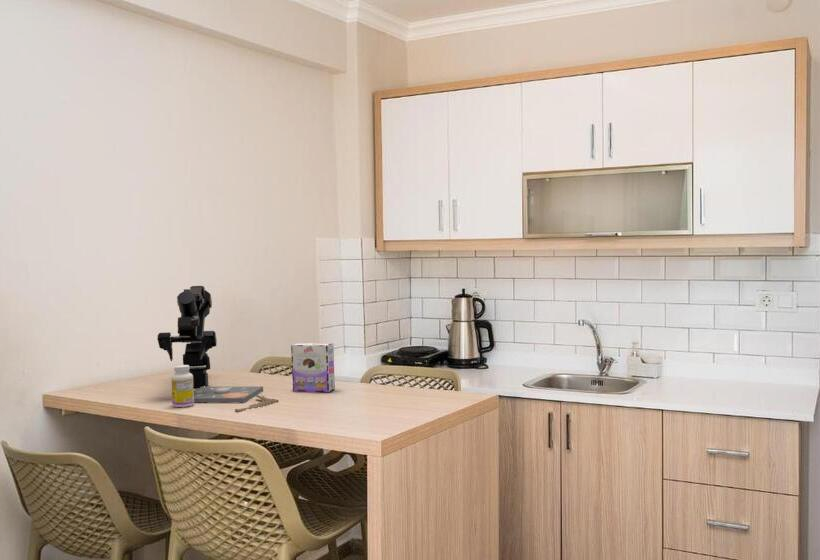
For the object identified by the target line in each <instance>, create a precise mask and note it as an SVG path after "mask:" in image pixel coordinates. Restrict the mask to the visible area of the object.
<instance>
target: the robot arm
mask: <svg viewBox="0 0 820 560" xmlns="http://www.w3.org/2000/svg"><path fill="white" fill-rule="evenodd" d="M176 299H177V300H176V302H177V306H178V311H179V312H180V317H177V335H172V334H171V332H159V333H158V334H157V342H158V347H159V348H160V349H161V350H163V351H166V352H167V354H168V356H169V360H170V362H173V352H174V351H173V343H181V344H182V343H185V351H184V354H182V363H183V364H182V365H189V367H190V369H189V373H191V374H192V375H193V387H204V386H205V387H207V386H209V385H208V384H209V373H208V372H207V371H208V370H211V361H210V355H208V351H209V350H210V349H213V348H215V347H217V333H216V331H215V330H205V324H206V323H205V320H206V317H207V316H208V315H210V314H211V313H210V312H211V308H212V305H213V300H212V295H211V293H210V292H209V291H207V290H206V289H205V286H203V285H192V286H190V287H189V289H183V291H182V292H180V293H179V294H178V295H177V296H176ZM206 385H207V386H206Z"/></svg>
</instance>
